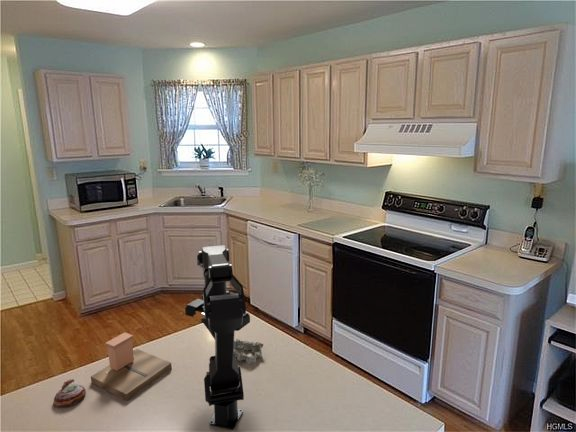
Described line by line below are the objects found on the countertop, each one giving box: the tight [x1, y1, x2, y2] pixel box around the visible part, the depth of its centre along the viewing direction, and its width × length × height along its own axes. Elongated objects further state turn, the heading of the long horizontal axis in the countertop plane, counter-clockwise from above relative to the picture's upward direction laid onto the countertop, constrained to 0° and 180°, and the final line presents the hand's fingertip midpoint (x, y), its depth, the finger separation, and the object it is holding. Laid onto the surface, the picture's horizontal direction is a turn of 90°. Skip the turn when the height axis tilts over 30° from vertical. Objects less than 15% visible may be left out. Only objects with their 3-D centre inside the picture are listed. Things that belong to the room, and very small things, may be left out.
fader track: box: [90, 348, 172, 401], centre depth 116 cm, size 15×16×2 cm
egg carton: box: [234, 338, 264, 365], centre depth 126 cm, size 11×8×4 cm
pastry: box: [53, 378, 87, 408], centre depth 106 cm, size 8×8×5 cm
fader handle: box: [105, 331, 134, 371], centre depth 116 cm, size 4×7×8 cm, turn 150°
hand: (218, 341), depth 112 cm, fingers closed
